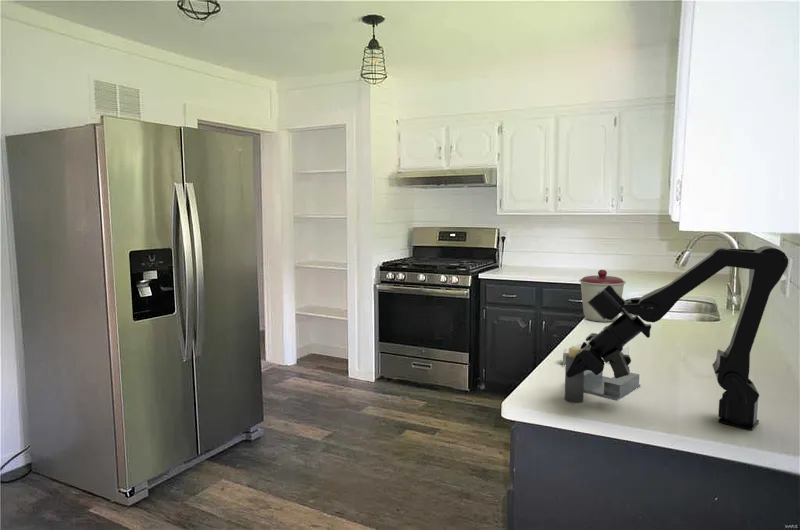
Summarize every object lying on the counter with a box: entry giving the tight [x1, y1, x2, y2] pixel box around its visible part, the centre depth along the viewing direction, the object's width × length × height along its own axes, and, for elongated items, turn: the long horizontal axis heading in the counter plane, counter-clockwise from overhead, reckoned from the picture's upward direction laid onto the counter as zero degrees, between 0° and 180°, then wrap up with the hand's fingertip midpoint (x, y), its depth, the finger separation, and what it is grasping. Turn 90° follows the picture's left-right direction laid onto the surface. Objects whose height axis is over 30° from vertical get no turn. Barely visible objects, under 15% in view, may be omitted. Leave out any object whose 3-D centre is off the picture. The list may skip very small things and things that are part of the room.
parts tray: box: [571, 340, 630, 364], centre depth 173 cm, size 13×13×3 cm
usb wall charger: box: [562, 348, 569, 366], centre depth 164 cm, size 4×7×4 cm, turn 159°
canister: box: [579, 269, 626, 323], centre depth 225 cm, size 18×18×21 cm
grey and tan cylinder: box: [564, 346, 584, 404], centre depth 134 cm, size 4×4×13 cm
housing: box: [583, 370, 641, 401], centre depth 144 cm, size 14×14×4 cm
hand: (568, 373), depth 135 cm, fingers closed on grey and tan cylinder, 4 cm apart
